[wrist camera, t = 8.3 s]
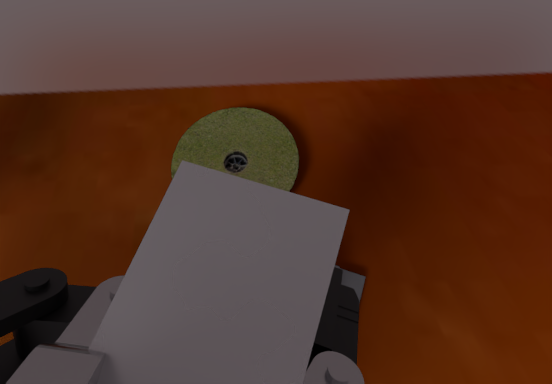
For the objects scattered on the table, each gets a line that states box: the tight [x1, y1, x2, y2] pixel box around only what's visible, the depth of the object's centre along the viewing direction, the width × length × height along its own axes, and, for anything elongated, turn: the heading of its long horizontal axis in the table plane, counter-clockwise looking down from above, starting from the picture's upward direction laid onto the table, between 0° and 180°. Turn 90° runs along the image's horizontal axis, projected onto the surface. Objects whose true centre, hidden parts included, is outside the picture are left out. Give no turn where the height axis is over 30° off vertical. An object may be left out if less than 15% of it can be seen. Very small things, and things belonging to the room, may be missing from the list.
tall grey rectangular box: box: [89, 160, 349, 384], centre depth 11 cm, size 4×6×10 cm, turn 161°
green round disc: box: [171, 107, 299, 192], centre depth 29 cm, size 11×11×2 cm
